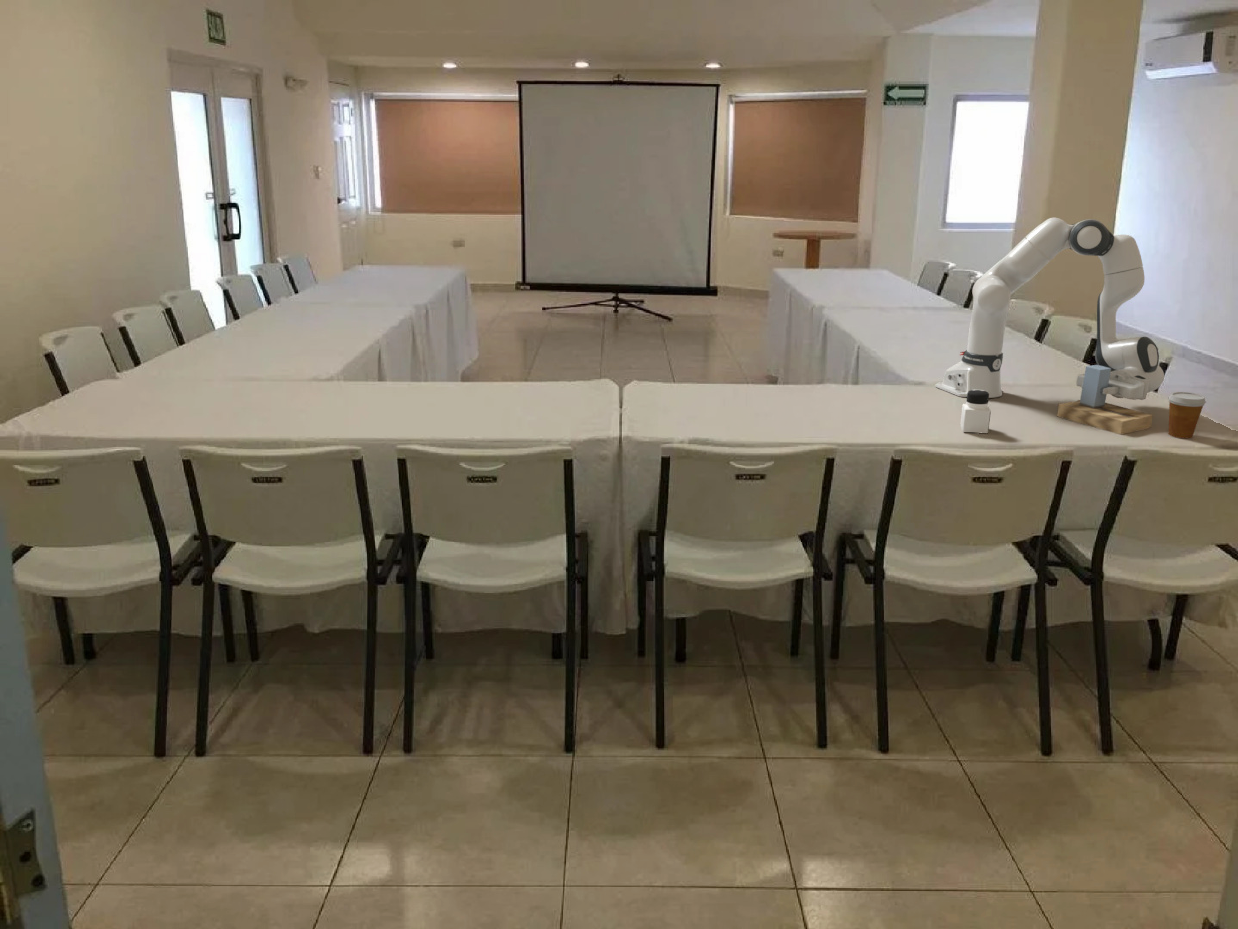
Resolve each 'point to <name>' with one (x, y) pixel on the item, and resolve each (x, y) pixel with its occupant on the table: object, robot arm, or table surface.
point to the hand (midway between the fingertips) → (1092, 388)
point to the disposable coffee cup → (1184, 413)
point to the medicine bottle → (976, 412)
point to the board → (1106, 417)
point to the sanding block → (1094, 386)
